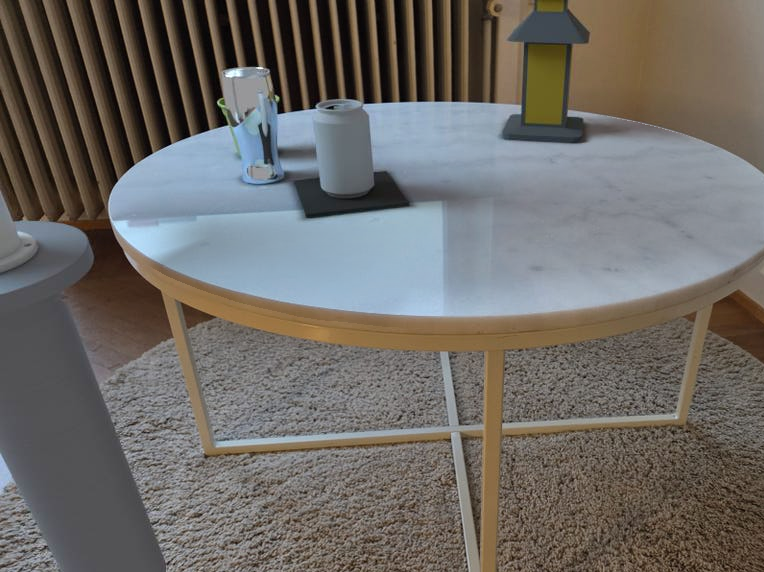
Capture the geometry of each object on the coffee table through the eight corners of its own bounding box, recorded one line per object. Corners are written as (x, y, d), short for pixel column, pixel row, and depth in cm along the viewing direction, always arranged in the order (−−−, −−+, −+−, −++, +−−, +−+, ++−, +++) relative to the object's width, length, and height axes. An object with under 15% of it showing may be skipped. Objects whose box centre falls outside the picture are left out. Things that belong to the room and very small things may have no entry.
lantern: (581, 143, 118) (599, -59, 102) (501, 139, 120) (506, -60, 103) (583, 122, 130) (599, -62, 113) (510, 118, 132) (516, -63, 115)
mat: (306, 217, 89) (305, 214, 89) (293, 183, 100) (293, 180, 100) (409, 205, 93) (409, 202, 93) (386, 173, 104) (386, 170, 104)
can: (339, 179, 100) (330, 94, 94) (384, 186, 98) (378, 99, 91) (311, 195, 94) (299, 106, 88) (358, 203, 92) (349, 112, 86)
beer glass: (234, 185, 99) (212, 76, 91) (246, 170, 105) (226, 66, 97) (282, 185, 99) (264, 76, 91) (291, 170, 105) (276, 66, 97)
